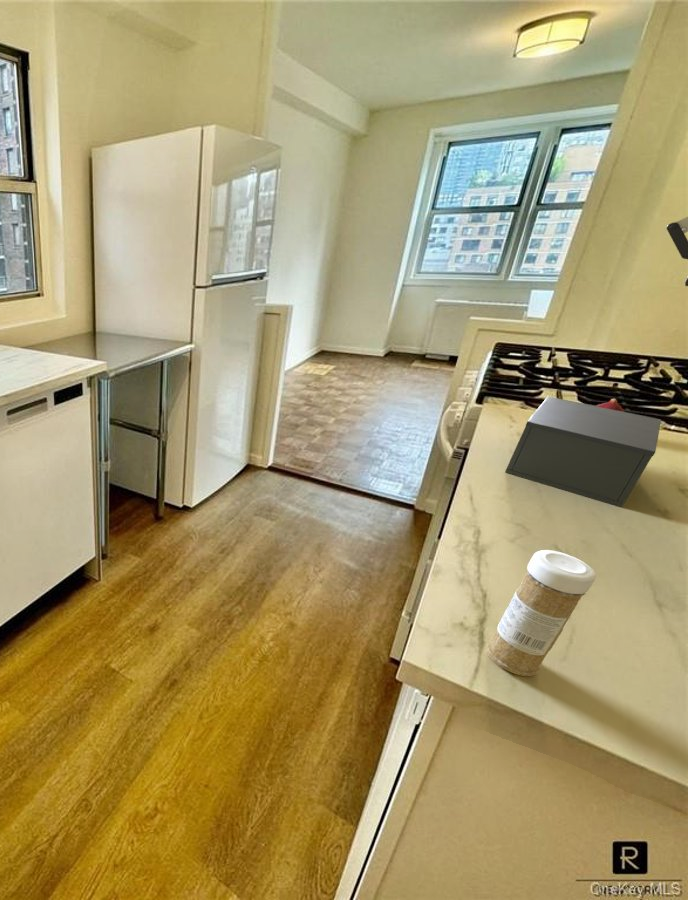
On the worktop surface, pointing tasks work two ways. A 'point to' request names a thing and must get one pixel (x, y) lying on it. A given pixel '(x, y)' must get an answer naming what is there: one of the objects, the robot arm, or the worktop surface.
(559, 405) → the door
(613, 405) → the onion
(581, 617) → the worktop surface
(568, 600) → the sprinkles bottle
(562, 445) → the grey storage bin
